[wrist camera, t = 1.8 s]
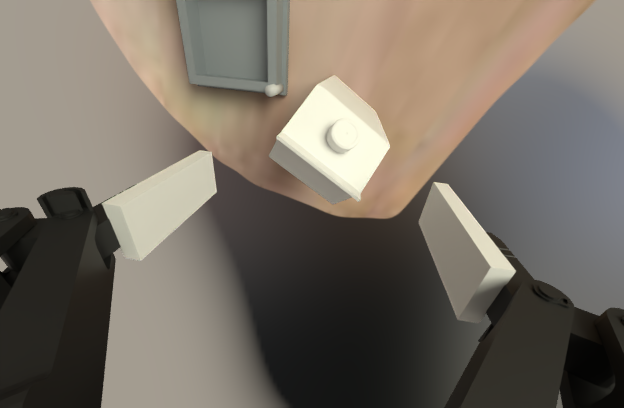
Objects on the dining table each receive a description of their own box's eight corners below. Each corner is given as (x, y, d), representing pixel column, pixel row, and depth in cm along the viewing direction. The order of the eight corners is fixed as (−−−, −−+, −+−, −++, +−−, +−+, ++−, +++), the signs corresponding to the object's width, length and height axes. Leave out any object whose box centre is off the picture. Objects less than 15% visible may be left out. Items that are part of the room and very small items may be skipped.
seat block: (185, -35, 27) (152, -53, 23) (290, -28, 26) (277, -46, 21) (201, 85, 33) (179, 88, 29) (287, 94, 32) (276, 99, 28)
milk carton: (340, 152, 35) (328, 231, 19) (301, 120, 33) (250, 175, 17) (376, 111, 31) (399, 164, 15) (334, 74, 30) (309, 87, 14)
